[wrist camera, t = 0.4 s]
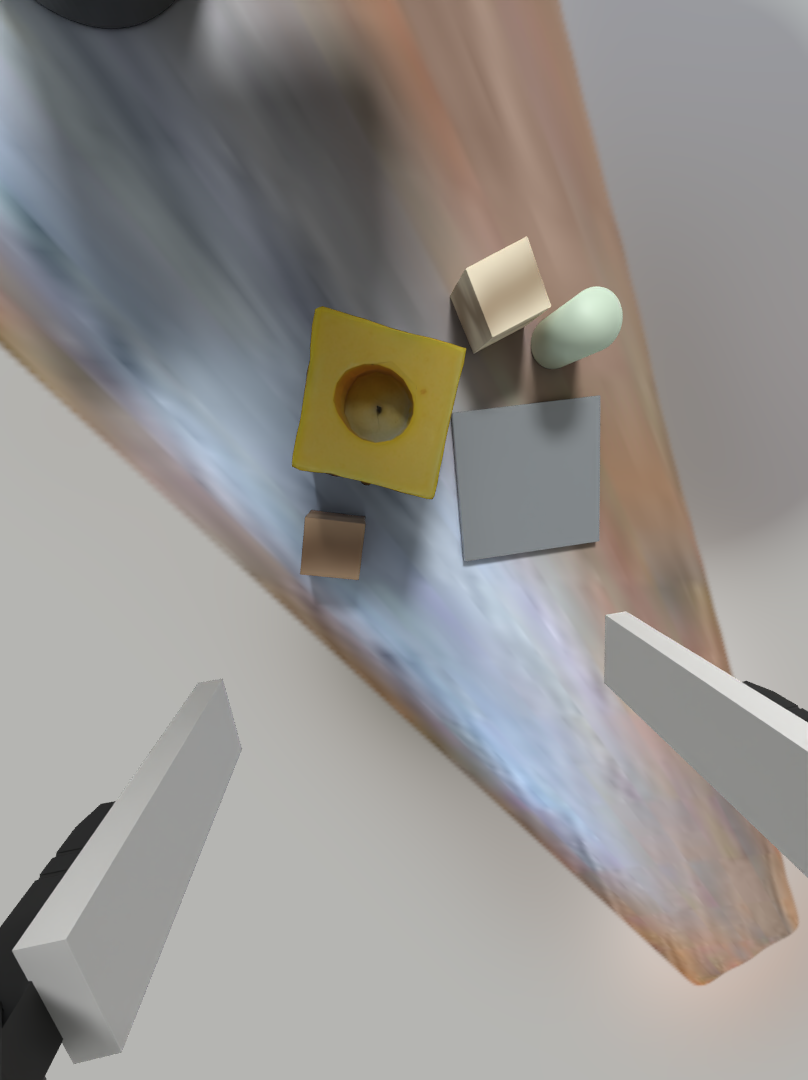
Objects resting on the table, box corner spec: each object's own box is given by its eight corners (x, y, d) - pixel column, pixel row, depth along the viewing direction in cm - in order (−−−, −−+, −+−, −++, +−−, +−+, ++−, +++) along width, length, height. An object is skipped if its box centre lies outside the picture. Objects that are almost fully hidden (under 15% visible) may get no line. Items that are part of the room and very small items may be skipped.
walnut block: (311, 509, 35) (305, 517, 31) (365, 516, 35) (365, 524, 32) (306, 561, 36) (300, 574, 32) (359, 566, 36) (358, 580, 33)
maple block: (449, 296, 32) (465, 268, 27) (501, 268, 32) (527, 236, 27) (473, 354, 33) (492, 337, 28) (523, 327, 33) (551, 306, 28)
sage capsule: (529, 318, 33) (566, 289, 27) (577, 313, 33) (623, 283, 27) (531, 371, 34) (567, 354, 28) (577, 366, 34) (621, 348, 28)
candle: (415, 490, 35) (436, 504, 26) (308, 466, 34) (287, 473, 24) (441, 377, 33) (474, 347, 24) (328, 347, 32) (314, 301, 22)
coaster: (450, 413, 34) (452, 412, 33) (596, 396, 35) (600, 395, 34) (463, 559, 37) (464, 561, 37) (595, 539, 38) (599, 541, 38)
